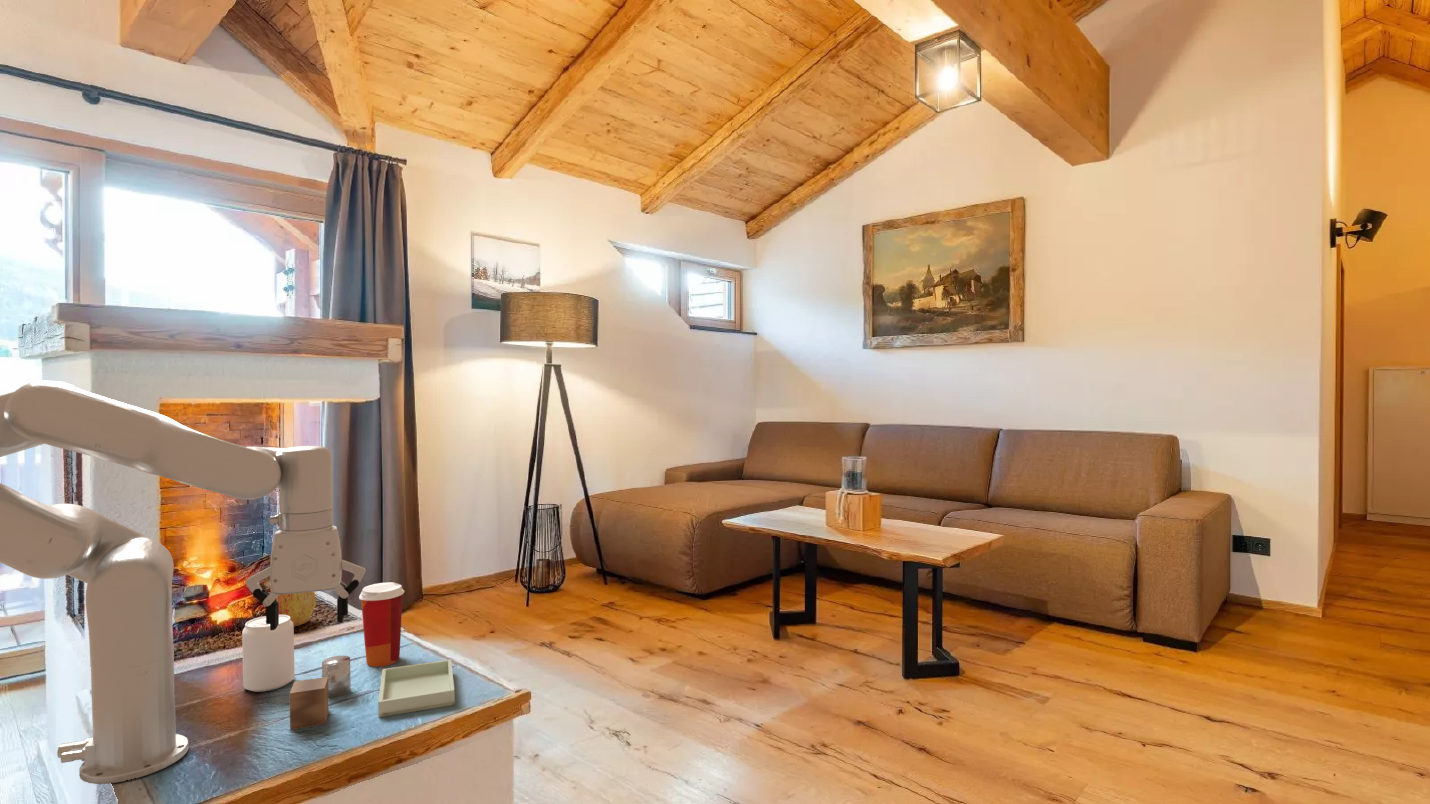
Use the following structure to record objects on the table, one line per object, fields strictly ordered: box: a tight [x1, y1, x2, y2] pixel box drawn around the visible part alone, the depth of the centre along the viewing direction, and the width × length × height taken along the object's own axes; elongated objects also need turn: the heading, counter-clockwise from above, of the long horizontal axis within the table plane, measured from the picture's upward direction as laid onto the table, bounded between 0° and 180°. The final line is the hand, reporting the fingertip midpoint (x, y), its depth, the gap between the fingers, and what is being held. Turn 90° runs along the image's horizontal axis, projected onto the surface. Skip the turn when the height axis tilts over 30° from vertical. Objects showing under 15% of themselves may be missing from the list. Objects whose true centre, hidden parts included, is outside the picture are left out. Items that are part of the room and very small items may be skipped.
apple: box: [276, 592, 317, 628], centre depth 166 cm, size 9×9×10 cm
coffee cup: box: [358, 581, 405, 668], centre depth 144 cm, size 8×8×15 cm
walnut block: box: [289, 677, 330, 731], centre depth 119 cm, size 5×5×6 cm
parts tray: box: [377, 658, 456, 718], centre depth 129 cm, size 12×15×3 cm
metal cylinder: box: [321, 655, 352, 700], centre depth 130 cm, size 4×4×6 cm
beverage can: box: [241, 615, 296, 693], centre depth 133 cm, size 8×8×12 cm
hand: (308, 623), depth 119 cm, fingers open, 9 cm apart
